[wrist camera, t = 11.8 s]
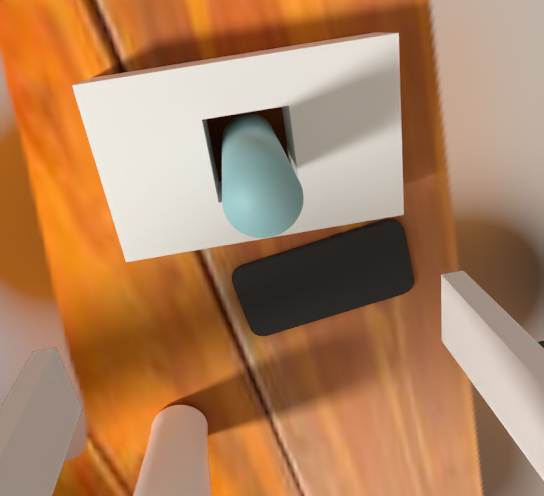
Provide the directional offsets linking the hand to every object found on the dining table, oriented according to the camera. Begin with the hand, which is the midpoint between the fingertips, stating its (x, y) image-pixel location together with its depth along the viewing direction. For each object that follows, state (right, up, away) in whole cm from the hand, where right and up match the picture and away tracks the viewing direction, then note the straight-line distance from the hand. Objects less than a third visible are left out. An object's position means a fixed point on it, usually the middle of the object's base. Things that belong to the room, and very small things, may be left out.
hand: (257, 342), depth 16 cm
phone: (+5, +1, +26) cm, 26 cm away
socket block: (-1, +11, +20) cm, 23 cm away
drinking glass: (-8, -14, +31) cm, 35 cm away
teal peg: (-1, +11, +20) cm, 23 cm away
